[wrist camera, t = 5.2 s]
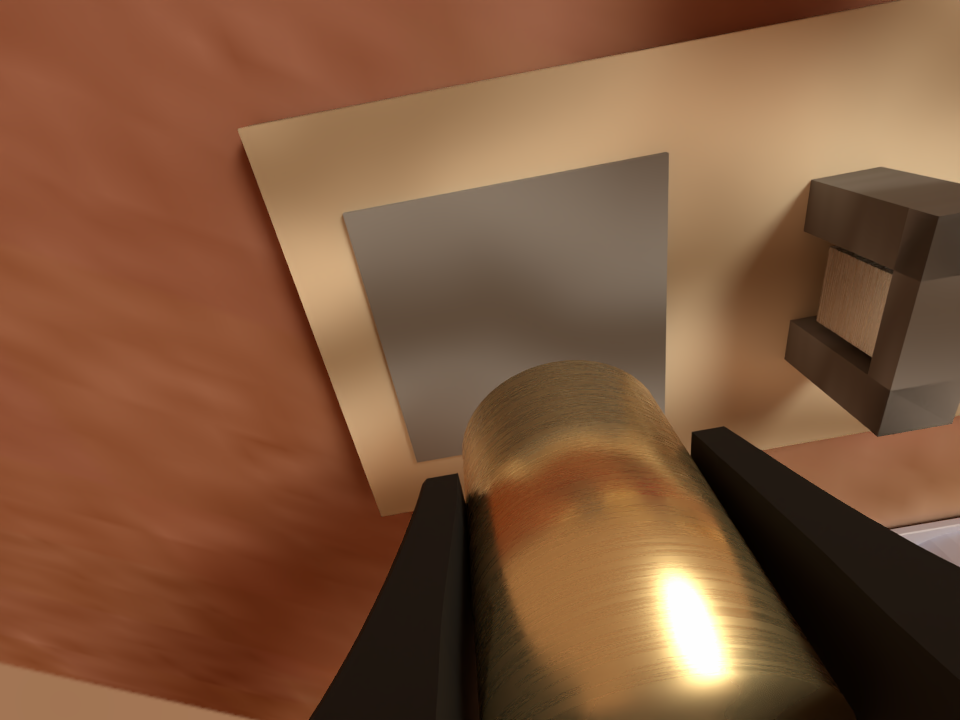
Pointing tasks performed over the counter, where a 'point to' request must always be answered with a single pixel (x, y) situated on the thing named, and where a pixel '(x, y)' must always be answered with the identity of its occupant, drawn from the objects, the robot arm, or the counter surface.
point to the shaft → (853, 297)
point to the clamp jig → (636, 235)
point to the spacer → (617, 567)
